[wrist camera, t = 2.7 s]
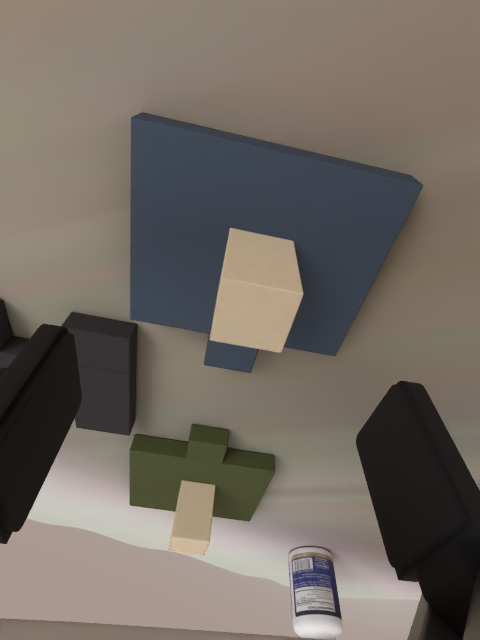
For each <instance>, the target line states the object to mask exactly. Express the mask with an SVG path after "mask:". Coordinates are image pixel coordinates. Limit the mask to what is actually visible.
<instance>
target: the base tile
mask: <svg viewBox="0 0 480 640" xmlns="http://www.w3.org/2000/svg"><path fill="white" fill-rule="evenodd" d="M61 327H66V328H67V329H68V333H71V334H73V335H74V338H75V345H76V353H77V361H78V369H79V376H80V384H81V392H82V401H81V405H80V408H79V410H78V412H77V414H76V416H75V421H76V427H77V428H83V429H89V430H96V431H102V432H109V433H116V434H122V435H130V433H131V430H132V427H133V424H134V421H135V396H136V344H137V324H134V323H128V322H123V321H117V320H112V319H106V318H101V317H95V316H90V315H84V314H78V313H73V312H72V313H71V314H70V315H69V316H68V318H67V319H66V320H65V322H64V323H63V325H62V326H61ZM28 341H29V340H28V339H23V338H17V337H13V335H12V332H11V328H10V324H9V321H8V317H7V313H6V310H5V306H4V303H3V300H2V299H0V369H1V368H6V367H7V368H8V367H9V366H10V364H11V363H12V362H13V360H14V359H15V358H16V357H17V355H18V354H19V353H20V351H21V350H22V349H23V347H24V346H25V345H26V344H27V342H28Z"/></svg>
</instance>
